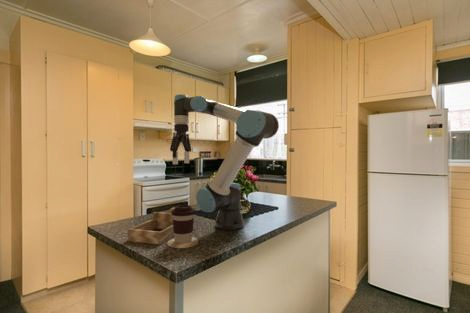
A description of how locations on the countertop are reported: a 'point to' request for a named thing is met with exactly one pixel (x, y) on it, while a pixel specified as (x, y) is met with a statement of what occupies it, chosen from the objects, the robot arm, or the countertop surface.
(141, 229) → the open wooden box
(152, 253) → the countertop surface
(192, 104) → the robot arm
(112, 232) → the countertop surface
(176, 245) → the disc
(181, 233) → the coffee cup
